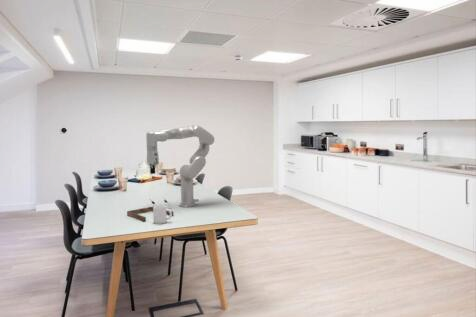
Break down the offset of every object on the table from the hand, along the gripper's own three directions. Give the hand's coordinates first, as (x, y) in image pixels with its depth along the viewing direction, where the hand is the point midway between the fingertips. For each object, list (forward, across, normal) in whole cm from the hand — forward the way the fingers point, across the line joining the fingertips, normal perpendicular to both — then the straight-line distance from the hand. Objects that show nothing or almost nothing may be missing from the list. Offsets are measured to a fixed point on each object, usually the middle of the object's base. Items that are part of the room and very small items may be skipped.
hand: (152, 173), depth 269 cm
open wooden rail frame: (+27, -14, +11) cm, 32 cm away
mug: (+27, -35, +14) cm, 46 cm away
